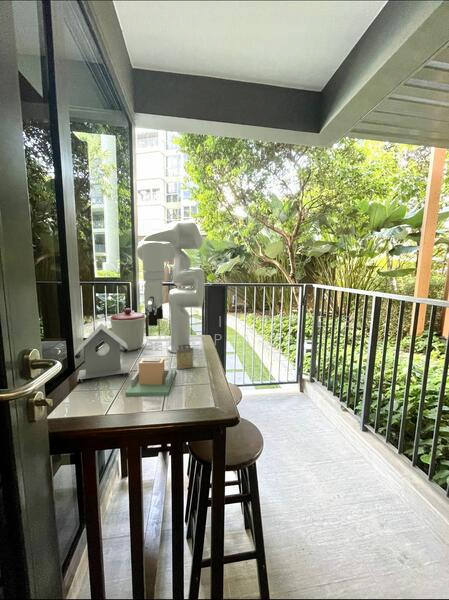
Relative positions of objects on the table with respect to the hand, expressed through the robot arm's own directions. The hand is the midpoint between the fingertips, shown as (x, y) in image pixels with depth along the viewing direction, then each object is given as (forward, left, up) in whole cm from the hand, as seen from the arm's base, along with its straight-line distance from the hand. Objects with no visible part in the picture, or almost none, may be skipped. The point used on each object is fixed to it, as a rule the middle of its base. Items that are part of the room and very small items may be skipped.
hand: (156, 322), depth 101 cm
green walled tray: (+3, -1, -22) cm, 23 cm away
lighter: (-12, +9, -23) cm, 27 cm away
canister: (-39, -23, -23) cm, 50 cm away
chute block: (+5, -1, -21) cm, 22 cm away
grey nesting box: (-4, -22, -23) cm, 32 cm away
